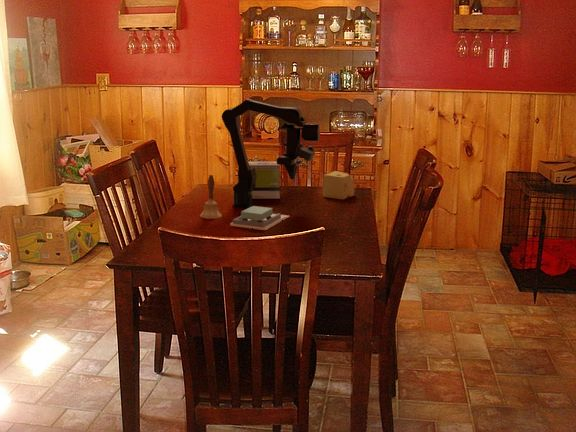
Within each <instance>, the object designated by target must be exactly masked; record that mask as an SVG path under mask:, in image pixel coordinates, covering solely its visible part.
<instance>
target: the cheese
mask: <svg viewBox="0 0 576 432" xmlns="http://www.w3.org/2000/svg"><path fill="white" fill-rule="evenodd" d="M322 180H323V181H322V195H323V196H322V197H324V198H329V199H330V198H331V199H336V200H337V199H338V200H345V199H347V198H350V197H353V196H354V195H355V188H354V184H355V180H354V177H353V178H352V175H351V174H349V173H347V172H343V171H342V172H341V171H338V170H337V171H336V170H334V171H332V172H329V173H326V174H324V175H323V179H322Z"/></svg>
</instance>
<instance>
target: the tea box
mask: <svg viewBox="0 0 576 432" xmlns="http://www.w3.org/2000/svg"><path fill="white" fill-rule="evenodd" d="M248 163H249V165H250V167H251V168H253V167H255V173H256V175H257V177H256V182H255V184H254V185H252V186H251V189H249V190H250V191H251V194H252V200H253V199H254V200H255V199H259V200H260V199H262V200H263V199H266V200H267V199H269V200H272V199H274V200H275V199H277V200H278V199H279V200H280V198H281V185H280V184H281V174H280V172H281V170H280V167H281V165H280V164H277V161H248Z"/></svg>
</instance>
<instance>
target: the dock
mask: <svg viewBox="0 0 576 432" xmlns="http://www.w3.org/2000/svg"><path fill="white" fill-rule="evenodd" d="M289 217H290V215H285V214H282V213H278V212H277V213H272V215H271V218H269V219H266V218H265V219H263V220H262V221H263V222H257V221H258V220H252V219H248V221H246V220H242V219H243V218H241V215H240V216H237V217H236V218H233V219H232V222H230V223H229V224H230V226H231V227H237V228H246V229H252V228H253V230H262V231H266V230H267V231H268V230H269V229H270V228H272V227H274V226H275V225H278V224H279V223H281V222H283V221H285V220H286V219H287V218H289ZM282 220H283V221H282Z"/></svg>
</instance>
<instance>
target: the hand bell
mask: <svg viewBox="0 0 576 432" xmlns="http://www.w3.org/2000/svg"><path fill="white" fill-rule="evenodd" d="M215 183H216V182H215V178H214V175H213V174H210V175H209V176H208V179H207V189H208V200H207V201H206V202H205V203H204V207H203V211H202V212H201V214H200V215H199V218H202V219H207V220H215V219H216V220H217V219H221V218H222V216H223V215H222V213H220V211H219V208H218V203H217V201H215V200H214V190H215Z"/></svg>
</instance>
